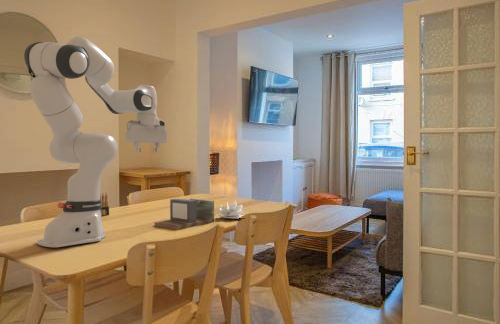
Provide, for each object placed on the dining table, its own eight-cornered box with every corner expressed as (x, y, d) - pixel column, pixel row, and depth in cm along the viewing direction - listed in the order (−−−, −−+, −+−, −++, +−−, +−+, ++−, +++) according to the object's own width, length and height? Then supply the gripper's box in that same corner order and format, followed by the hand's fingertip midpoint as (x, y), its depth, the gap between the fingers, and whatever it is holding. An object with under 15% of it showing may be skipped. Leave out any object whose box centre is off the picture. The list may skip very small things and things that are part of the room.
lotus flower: (246, 221, 165) (246, 202, 165) (213, 221, 166) (213, 202, 166) (248, 216, 180) (248, 198, 180) (218, 215, 181) (218, 198, 181)
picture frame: (189, 222, 153) (189, 201, 153) (170, 219, 160) (170, 199, 160) (196, 221, 156) (196, 200, 156) (177, 218, 163) (177, 198, 163)
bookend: (177, 229, 146) (177, 206, 146) (154, 225, 154) (154, 203, 154) (214, 221, 164) (214, 200, 163) (191, 218, 172) (191, 198, 172)
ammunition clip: (90, 220, 168) (89, 194, 168) (87, 219, 169) (87, 193, 169) (109, 216, 178) (109, 192, 177) (106, 216, 179) (106, 192, 178)
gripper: (131, 119, 154) (131, 152, 154) (168, 123, 170) (169, 152, 170) (122, 120, 157) (122, 152, 158) (160, 123, 174) (160, 152, 174)
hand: (147, 152), depth 164 cm, fingers open, 8 cm apart
